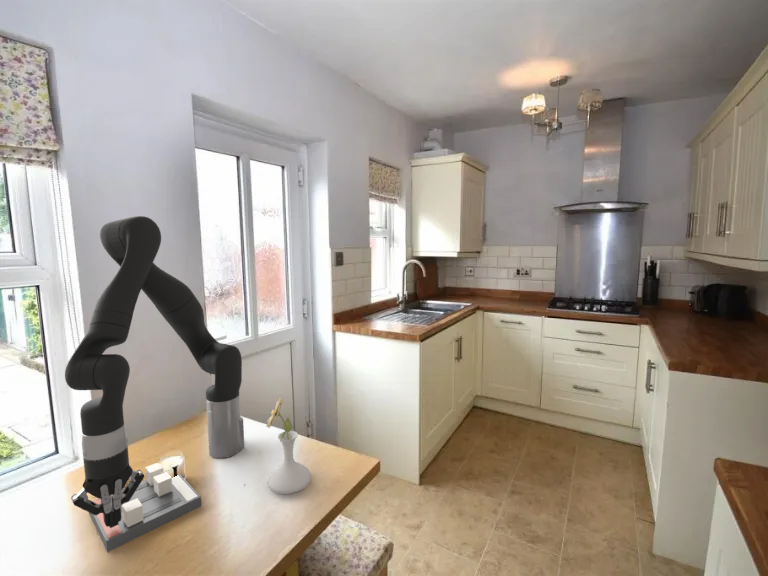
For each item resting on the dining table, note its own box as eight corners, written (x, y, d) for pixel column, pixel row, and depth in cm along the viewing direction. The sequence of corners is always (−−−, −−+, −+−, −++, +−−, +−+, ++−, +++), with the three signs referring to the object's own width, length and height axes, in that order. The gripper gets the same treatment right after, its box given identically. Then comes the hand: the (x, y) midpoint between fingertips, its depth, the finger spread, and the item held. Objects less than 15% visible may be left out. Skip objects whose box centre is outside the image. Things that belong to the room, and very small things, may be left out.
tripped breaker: (138, 512, 87) (137, 498, 87) (143, 520, 85) (142, 505, 85) (123, 519, 85) (121, 504, 85) (127, 527, 83) (126, 512, 83)
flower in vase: (279, 469, 109) (276, 383, 106) (317, 474, 106) (316, 387, 103) (255, 500, 96) (251, 403, 93) (298, 506, 94) (295, 408, 91)
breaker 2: (167, 484, 97) (166, 471, 97) (172, 490, 95) (171, 477, 95) (154, 490, 95) (153, 477, 95) (159, 496, 93) (158, 483, 92)
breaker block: (175, 476, 105) (174, 467, 105) (201, 506, 94) (200, 496, 93) (88, 512, 91) (87, 502, 91) (107, 552, 80) (106, 540, 80)
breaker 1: (159, 474, 101) (158, 462, 101) (163, 480, 99) (162, 467, 99) (146, 480, 99) (145, 467, 99) (150, 486, 97) (149, 473, 96)
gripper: (136, 430, 88) (142, 501, 90) (61, 454, 78) (70, 532, 80) (147, 442, 83) (153, 517, 85) (68, 469, 73) (77, 552, 75)
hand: (113, 524), depth 83 cm, fingers closed
